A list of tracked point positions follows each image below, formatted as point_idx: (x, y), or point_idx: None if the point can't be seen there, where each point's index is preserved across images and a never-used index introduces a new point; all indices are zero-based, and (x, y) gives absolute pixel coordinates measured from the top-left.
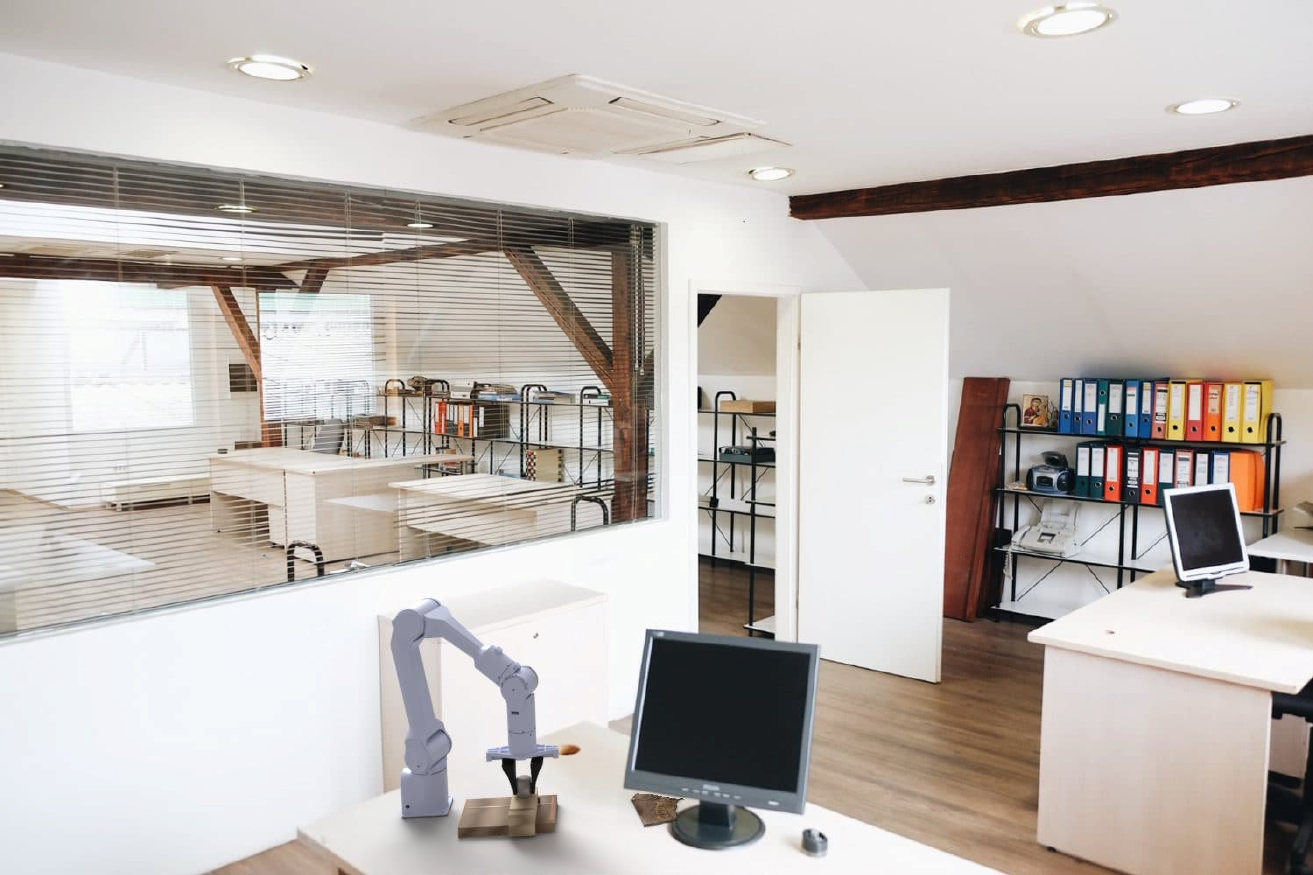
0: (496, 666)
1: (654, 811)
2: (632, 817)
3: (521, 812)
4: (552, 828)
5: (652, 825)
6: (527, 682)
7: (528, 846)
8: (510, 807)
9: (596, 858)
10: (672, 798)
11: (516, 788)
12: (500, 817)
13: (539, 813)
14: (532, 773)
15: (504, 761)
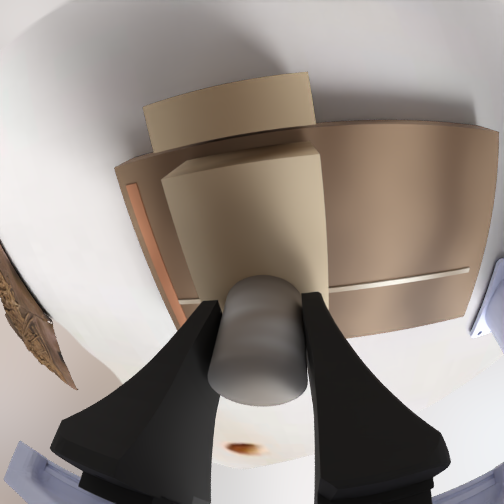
0: None
1: (3, 275)
2: (18, 257)
3: (225, 113)
4: (131, 159)
5: None
6: None
7: (201, 46)
8: (316, 174)
9: (14, 61)
10: (8, 311)
11: (304, 327)
12: (364, 201)
13: None
14: (149, 399)
15: (409, 495)
